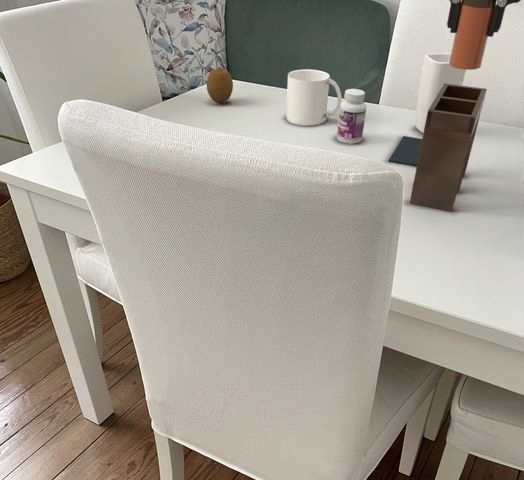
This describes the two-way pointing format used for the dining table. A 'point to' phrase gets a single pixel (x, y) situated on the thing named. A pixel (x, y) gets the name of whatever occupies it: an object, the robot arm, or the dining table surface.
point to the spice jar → (471, 33)
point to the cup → (434, 83)
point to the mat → (407, 151)
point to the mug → (309, 97)
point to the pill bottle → (351, 117)
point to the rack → (446, 145)
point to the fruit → (219, 85)
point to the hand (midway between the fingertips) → (472, 33)
